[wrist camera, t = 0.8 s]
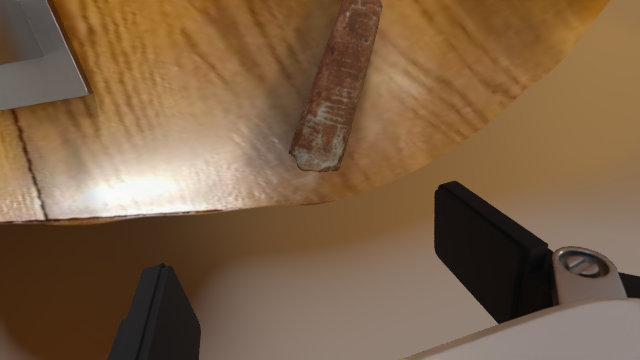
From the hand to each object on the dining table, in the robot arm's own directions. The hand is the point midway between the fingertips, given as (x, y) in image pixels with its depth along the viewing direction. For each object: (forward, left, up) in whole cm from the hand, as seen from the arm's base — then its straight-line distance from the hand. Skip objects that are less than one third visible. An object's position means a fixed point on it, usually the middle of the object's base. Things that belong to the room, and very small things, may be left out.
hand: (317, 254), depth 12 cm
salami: (0, +8, -29) cm, 30 cm away
